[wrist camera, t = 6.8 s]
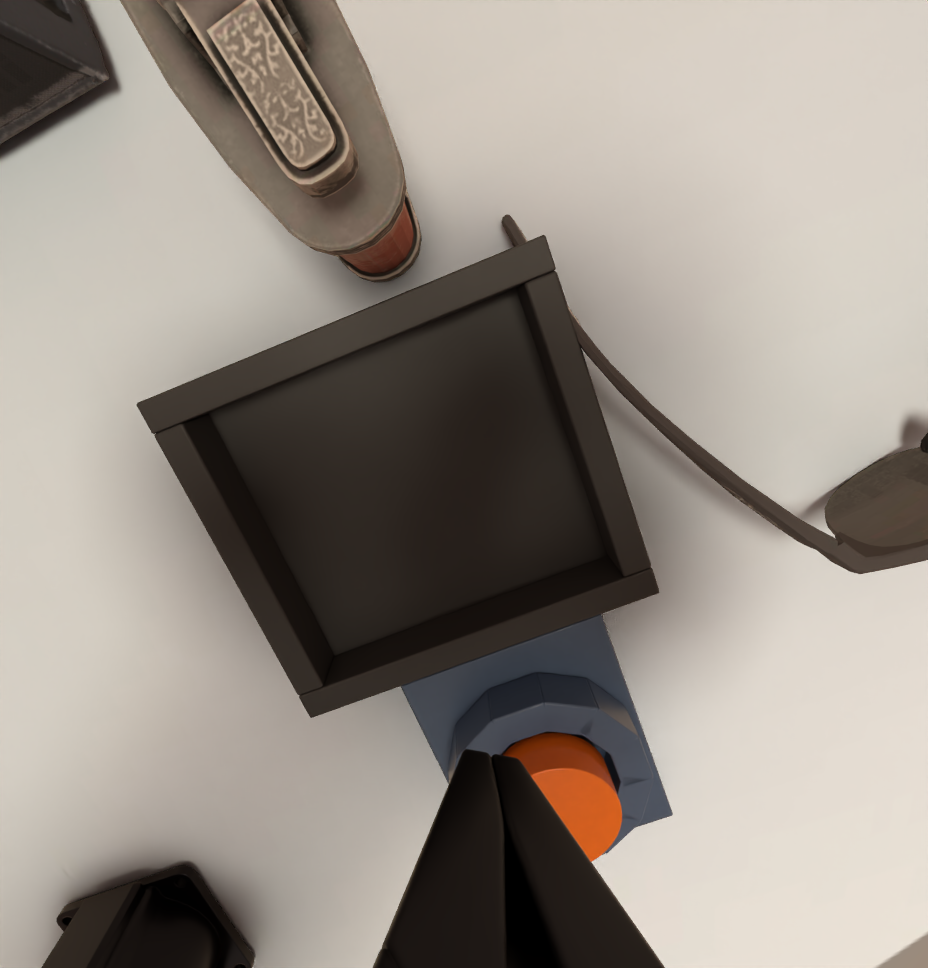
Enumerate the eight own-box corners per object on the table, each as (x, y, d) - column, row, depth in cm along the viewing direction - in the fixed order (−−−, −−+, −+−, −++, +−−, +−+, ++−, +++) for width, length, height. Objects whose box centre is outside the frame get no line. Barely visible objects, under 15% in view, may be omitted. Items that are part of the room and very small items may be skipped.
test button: (622, 806, 21) (638, 848, 19) (514, 843, 21) (519, 886, 20) (587, 715, 20) (600, 751, 18) (473, 755, 20) (475, 794, 18)
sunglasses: (785, 582, 21) (877, 642, 16) (471, 267, 20) (468, 228, 15) (1161, 252, 19) (1402, 206, 14) (840, -143, 17) (986, -355, 12)
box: (662, 792, 24) (692, 855, 21) (490, 849, 25) (496, 918, 22) (593, 599, 21) (615, 640, 19) (402, 667, 22) (395, 718, 19)
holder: (636, 563, 21) (660, 593, 19) (325, 676, 22) (310, 719, 20) (531, 246, 18) (545, 233, 16) (174, 394, 19) (135, 403, 17)
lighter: (203, 58, 16) (-148, -330, 7) (297, -12, 16) (67, -532, 6) (358, 303, 18) (259, 274, 9) (445, 245, 18) (442, 148, 8)
